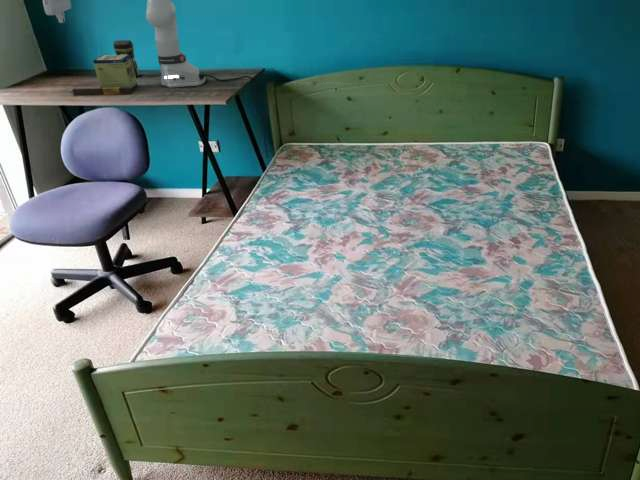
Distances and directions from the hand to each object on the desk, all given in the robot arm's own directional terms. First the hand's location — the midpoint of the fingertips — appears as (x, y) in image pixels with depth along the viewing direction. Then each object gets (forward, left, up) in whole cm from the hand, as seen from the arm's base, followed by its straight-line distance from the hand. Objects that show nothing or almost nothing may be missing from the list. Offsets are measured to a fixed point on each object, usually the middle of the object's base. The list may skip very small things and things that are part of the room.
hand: (62, 22), depth 291 cm
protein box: (-22, +5, -31) cm, 39 cm away
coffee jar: (-19, -19, -31) cm, 41 cm away
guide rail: (-17, +14, -31) cm, 38 cm away
